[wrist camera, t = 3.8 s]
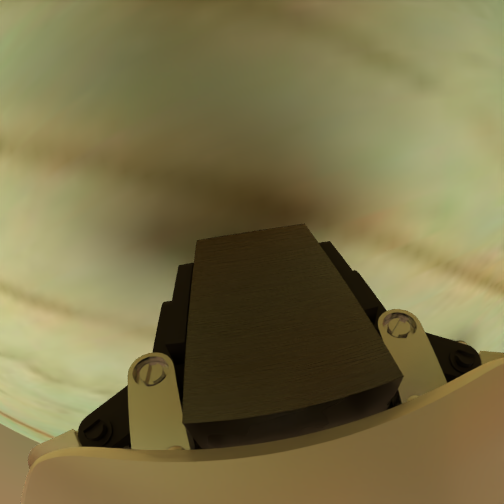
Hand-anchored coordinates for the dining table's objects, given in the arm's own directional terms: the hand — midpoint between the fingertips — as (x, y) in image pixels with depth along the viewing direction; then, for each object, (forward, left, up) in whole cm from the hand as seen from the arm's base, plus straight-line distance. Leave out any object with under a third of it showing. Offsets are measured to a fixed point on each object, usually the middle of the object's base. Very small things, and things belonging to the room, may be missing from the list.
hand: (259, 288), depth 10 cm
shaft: (+10, 0, -1) cm, 10 cm away
